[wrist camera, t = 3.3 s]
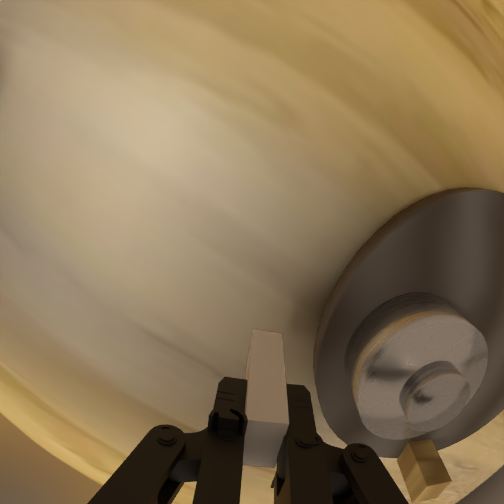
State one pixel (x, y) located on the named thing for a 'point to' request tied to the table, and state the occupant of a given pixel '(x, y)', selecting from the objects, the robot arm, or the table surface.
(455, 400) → the cover
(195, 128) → the table surface
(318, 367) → the turntable
